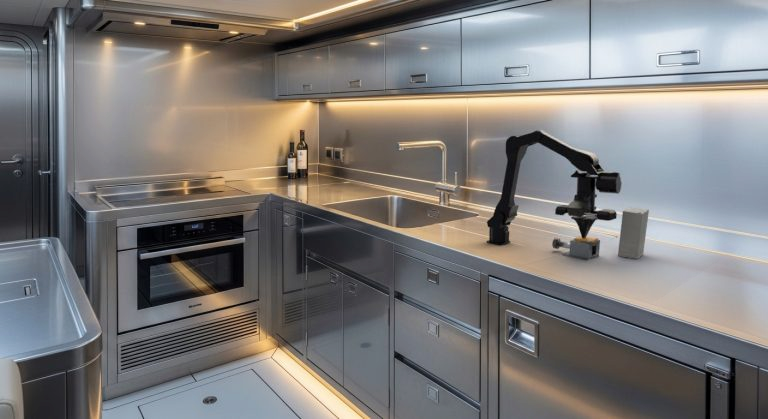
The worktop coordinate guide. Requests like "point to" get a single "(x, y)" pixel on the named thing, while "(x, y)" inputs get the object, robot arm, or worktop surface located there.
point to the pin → (560, 244)
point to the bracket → (583, 249)
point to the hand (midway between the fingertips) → (583, 238)
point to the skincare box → (633, 232)
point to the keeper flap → (586, 239)
